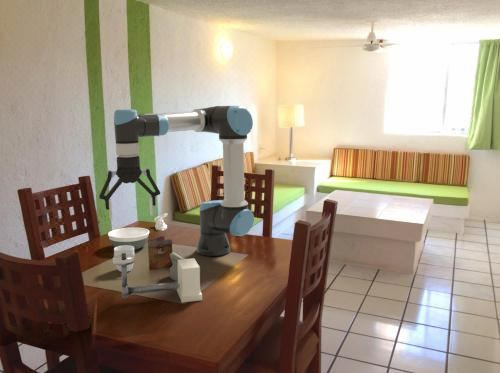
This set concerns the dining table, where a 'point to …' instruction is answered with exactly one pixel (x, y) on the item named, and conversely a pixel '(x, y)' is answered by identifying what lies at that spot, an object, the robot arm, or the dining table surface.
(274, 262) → the dining table surface
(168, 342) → the dining table surface
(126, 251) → the mug
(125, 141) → the robot arm
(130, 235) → the bowl
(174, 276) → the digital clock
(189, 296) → the white upright block
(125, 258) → the l-shaped grey rod
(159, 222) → the rabbit figurine
